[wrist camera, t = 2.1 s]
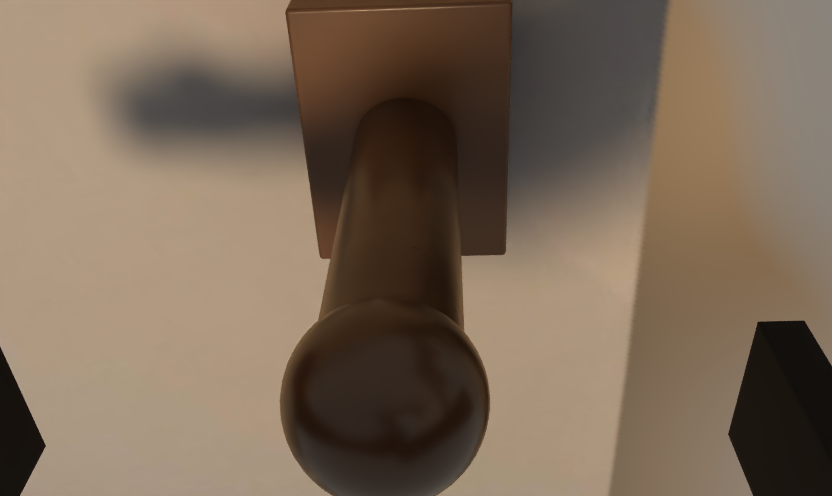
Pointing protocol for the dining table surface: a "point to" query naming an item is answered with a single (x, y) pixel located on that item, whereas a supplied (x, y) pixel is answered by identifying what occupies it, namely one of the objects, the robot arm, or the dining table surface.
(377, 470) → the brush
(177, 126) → the dining table surface
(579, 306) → the dining table surface
